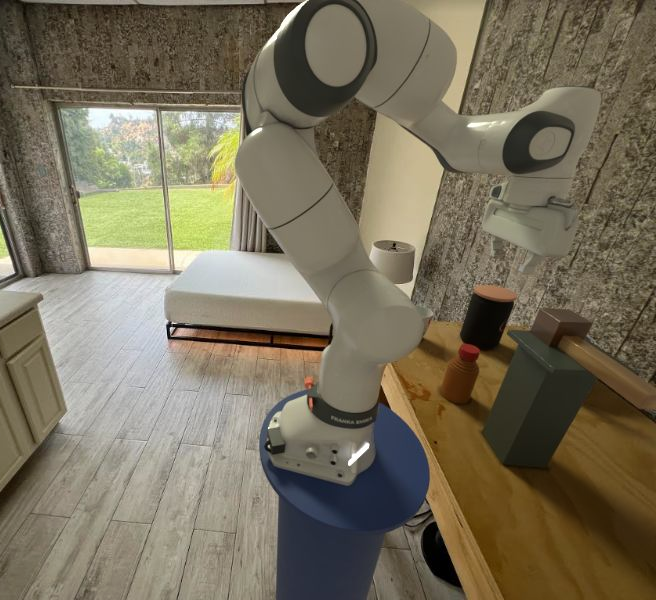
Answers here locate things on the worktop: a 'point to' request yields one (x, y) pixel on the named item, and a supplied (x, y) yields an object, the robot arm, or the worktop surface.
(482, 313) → the coffee jar
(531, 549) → the worktop surface
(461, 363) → the bottle
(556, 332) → the mallet
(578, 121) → the robot arm
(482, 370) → the worktop surface
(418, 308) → the cup
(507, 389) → the stand
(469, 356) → the cap
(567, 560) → the worktop surface
